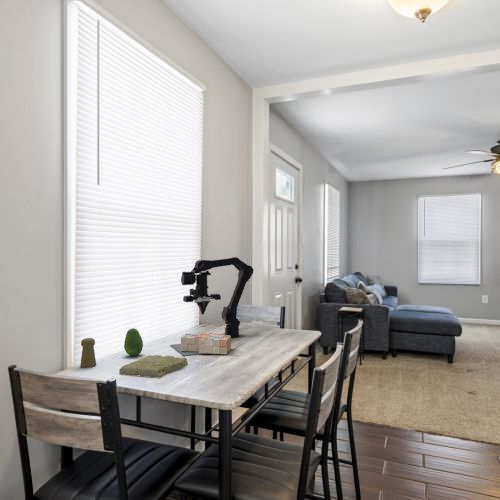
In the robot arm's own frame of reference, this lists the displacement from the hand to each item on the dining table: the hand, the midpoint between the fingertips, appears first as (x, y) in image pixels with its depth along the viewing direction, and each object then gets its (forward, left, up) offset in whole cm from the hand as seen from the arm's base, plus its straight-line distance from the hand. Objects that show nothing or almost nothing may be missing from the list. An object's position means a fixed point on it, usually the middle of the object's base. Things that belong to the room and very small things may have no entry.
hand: (202, 314), depth 211 cm
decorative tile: (+34, +43, -14) cm, 56 cm away
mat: (+13, +18, -13) cm, 25 cm away
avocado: (+38, +18, -13) cm, 44 cm away
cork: (+57, +26, -13) cm, 64 cm away
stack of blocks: (+4, +20, -9) cm, 23 cm away
